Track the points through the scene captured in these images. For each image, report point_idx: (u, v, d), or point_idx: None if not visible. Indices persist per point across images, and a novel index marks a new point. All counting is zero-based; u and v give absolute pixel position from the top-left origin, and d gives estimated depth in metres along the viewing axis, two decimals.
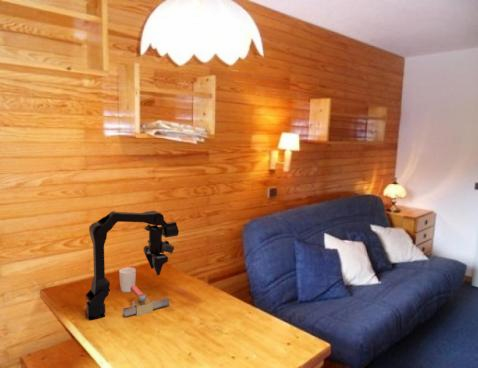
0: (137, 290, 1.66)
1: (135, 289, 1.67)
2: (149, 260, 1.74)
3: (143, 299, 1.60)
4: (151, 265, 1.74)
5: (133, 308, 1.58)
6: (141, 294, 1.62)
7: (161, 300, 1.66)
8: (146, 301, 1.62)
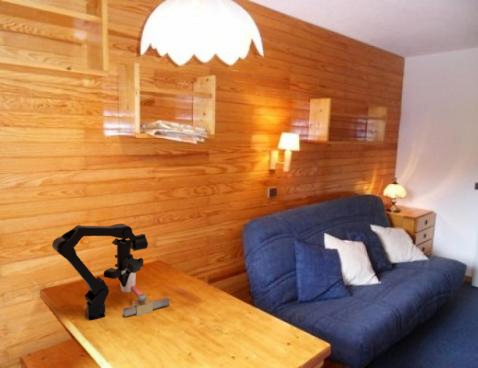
0: (137, 290, 1.66)
1: (135, 289, 1.67)
2: None
3: (143, 299, 1.60)
4: None
5: (133, 308, 1.58)
6: (141, 294, 1.62)
7: (161, 300, 1.66)
8: (146, 301, 1.62)
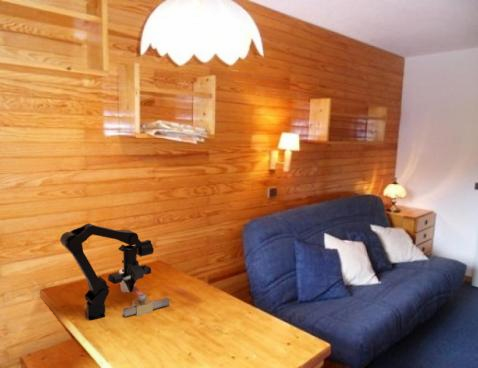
0: (137, 290, 1.66)
1: (135, 289, 1.67)
2: None
3: (143, 299, 1.60)
4: None
5: (133, 308, 1.58)
6: (141, 294, 1.62)
7: (161, 300, 1.66)
8: (146, 301, 1.62)
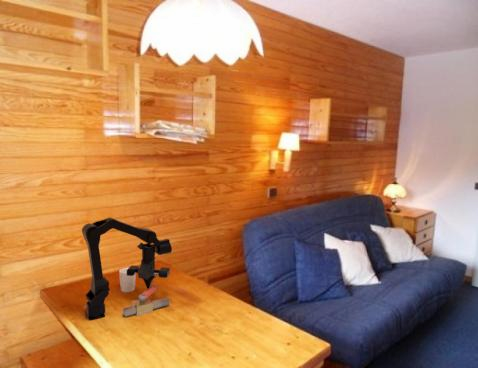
0: (149, 289, 1.67)
1: (150, 288, 1.68)
2: None
3: (140, 299, 1.59)
4: None
5: (133, 308, 1.58)
6: (144, 294, 1.62)
7: (161, 300, 1.66)
8: (146, 301, 1.62)
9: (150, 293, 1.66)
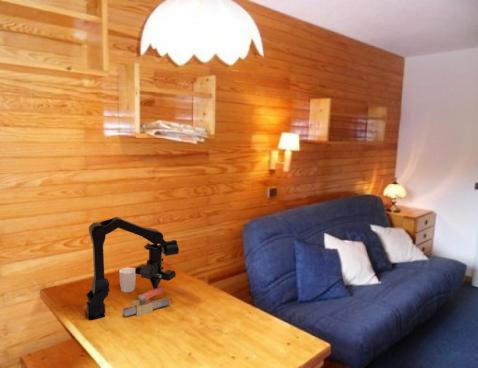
0: (153, 290, 1.66)
1: (155, 289, 1.67)
2: None
3: (139, 299, 1.60)
4: None
5: (133, 308, 1.58)
6: (144, 294, 1.62)
7: (161, 300, 1.66)
8: (146, 301, 1.62)
9: (153, 294, 1.65)
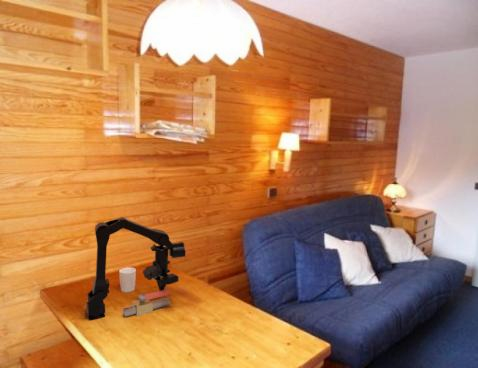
0: (156, 292, 1.64)
1: (159, 291, 1.65)
2: None
3: None
4: None
5: (133, 308, 1.58)
6: (145, 295, 1.61)
7: (161, 300, 1.66)
8: (146, 301, 1.62)
9: (154, 296, 1.63)
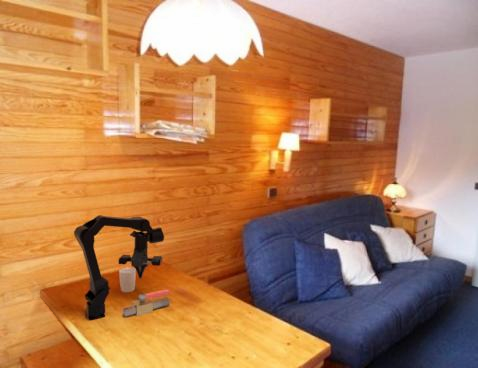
0: (156, 292, 1.64)
1: (159, 291, 1.65)
2: None
3: None
4: None
5: (133, 308, 1.58)
6: (145, 295, 1.61)
7: (161, 300, 1.66)
8: (146, 301, 1.62)
9: (154, 296, 1.63)
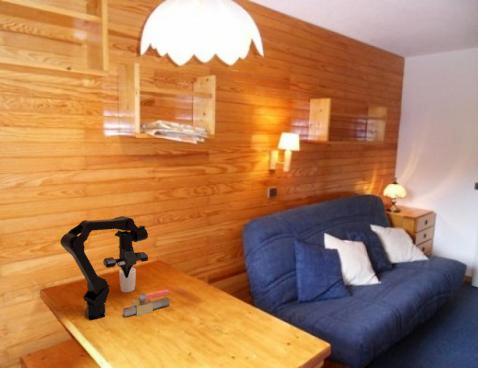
0: (156, 292, 1.64)
1: (159, 291, 1.65)
2: (126, 268, 1.69)
3: None
4: None
5: (133, 308, 1.58)
6: (145, 295, 1.61)
7: (161, 300, 1.66)
8: (146, 301, 1.62)
9: (154, 296, 1.63)
